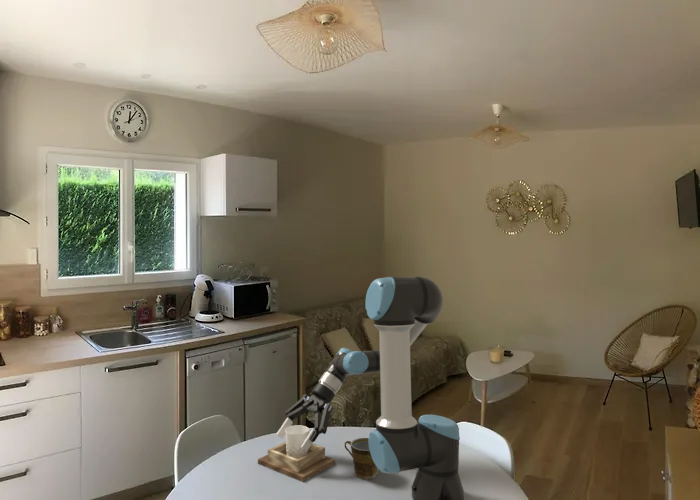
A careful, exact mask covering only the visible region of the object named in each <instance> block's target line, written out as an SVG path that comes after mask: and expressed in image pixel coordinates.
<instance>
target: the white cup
mask: <svg viewBox="0 0 700 500" xmlns="http://www.w3.org/2000/svg"><path fill="white" fill-rule="evenodd" d="M309 433H310V428H309V427H307V426H306V425H301V424H299V425H298V424H297V425H296V424H294V425H291V426H289V427H287V428H286V429H285V435H284V436H285V442H286V452H287V455H288V456H291V457H293V458H296V459H299V458H301V457H303V456H305V455H307V452H308V451H307V452H306V451H305V450H304V449H303V448H302V447H301V446H302V444H303V442H304V441H305V439H306V438H307V436H308V435H309Z"/></svg>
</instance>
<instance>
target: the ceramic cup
mask: <svg viewBox="0 0 700 500" xmlns="http://www.w3.org/2000/svg"><path fill="white" fill-rule="evenodd" d="M368 438H369V437H359V438H356V439H353V440H352V441H350V440H347V441H345V443H344V448H345V450H346V451H347V452H348V454H349V455H350V456H351V458H352V461H353V467H354V474H355V475H356V477H357V478H358V479H361V480H373V479H374V478H376V477H377V474H378V470H379V469H378V468H377V467H376V465H375V463H374V461H373V459H372V457H371V454H370V450H369V443H368ZM347 444H348V445H350V449H351V450H349V448H348V447H347Z"/></svg>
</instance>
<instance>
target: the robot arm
mask: <svg viewBox="0 0 700 500" xmlns="http://www.w3.org/2000/svg"><path fill="white" fill-rule="evenodd" d="M366 291H367V292H366V295H365V301H364V302H365V304H364V305H365V311H366V314H367V317H368V318H370V320H372V321H373V326H374V327H375V328H376V329H377V330H378V332H379V333H378V334H379V337H378V338H379V349H375V350H365V351H364V350H362V351H360V350H355V351H353V350H351V349H349V348H346V347H341V348H339V350H338V352H337V353H336V354H335V355H334V357H333V359H332V361H331V362H330V364H329V365H328V367H327V368H326V370H325V371H324V373H323V374H322V375H321V377H320V378H319V380H318V383H316V384H315V386H314V387H313V389H312V390H311V395H310V396H309V395H308V394H307V393H304V394H303V395H302V397H301V398H300V399H298V401H296V402H295V403H294V404H293V405H291V406H290V407H289V408H288V409H287V410H285V412H284V415H285V416H286V417H285V419H284V421H282V424H281V427H279V429H278V431H277V432H276V435H277V436H278V438H280V439H282V440H283V438H284V437H285V436H286V435H285V429H286V428H287V427H289V426H293V423H294V420H296V419H297V418H299V417H300V416H302V415H304V414H306V413H313V414H314V427H313V428H311V430H310V431H309V435H308V436H307V438H306V439H305V441H304V442H303V444H302V446H301V447H302V448H303V449H304V450H305V451H306V452H307V451H308V449H309V448H310V446H311V444H312V443H313V444H314V443H315V441H316V440H317V438H318V437H319V435H321V434H323V435H325V434H327V431H328V426H329V421H330V417H331V413H332V411H333V410H334V407H333V406H332V404H331V402H332V401H333V399H334V398H335V394H337V393H338V391H339V390H340V389H341V387H342V385H343V384H344V382H345V381H346V380H347V378H348V376H355V375H364V374H372V373H373V374H374V373H380V374H379V375H380V378H379V379H380V383H379V384H380V412H381V413H380V414H381V415H380V416H379V417H378V418H377V419H376V420H375V429H373V430H372V431H370V432H369V436H368V437H367V438H368V443H369V450H370V454H371V457H372V459H373V461H374V463H375V465H376V467H377V468H378V470H379V472H381V473H384V474H392V473H393V474H394V473H395V474H396V473H397V474H399V473H400V472H406V471H410V470H415V469H416V470H417V472H416V473H415V477H414V479H413V482H412V486H411V498H412V500H465V491H464V487H463V483H462V480H461V478H460V474H459V466H460V465H459V462H460V459H459V457H460V453H459V452H460V428H459V424H457V422H455V420H453V419H451V418H448V417H446V416H441V415H437V414H423V415H421V416H420V417H419V418H418V420H416V418H415V417H413V414H412V379H411V377H412V375H411V371H412V370H411V346H412V345H413V343H414V342H416V340H417V338H418V337H419V336H420V334H422V333H423V331H424V330H425V328H426V327H427V326H428V325H430V324H432V323H434V322H435V321H436V319H437V318H438V317H439V315H440V314H441V312H442V310H443V306H444V297H443V293H442V291H441V289H440V287H439V286H438V284H437V283H435V281H434V280H432V279H430V278H427V277H425V276H401V277H400V276H398V277H397V276H395V277H394V276H393V277H392V276H388V277H380V278H379V277H378V278H376V279H374V280H373V281H372V282H371V283H370V285H369V287H368V289H367V290H366Z"/></svg>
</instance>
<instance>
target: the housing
mask: <svg viewBox="0 0 700 500" xmlns="http://www.w3.org/2000/svg"><path fill="white" fill-rule="evenodd" d="M257 464H258V465H260V466H263V467H265V468H268V469H270V470H273V471H276V472H278V473H280V474H282V475H285V476H287V477H289V478H292V479H295V480H297V481H299V482H302V483H304V481H306V480H309V479H311V478H312V477H314V476H317V474H319V473H321V472H322V471H325V470H326V469H328V468H330V467H332V466H334V465H335V464H336V459H335V458H333V457H330V456H327V455H326V446H325V447H324V446H322V445H318V444H316V443H314V442H313V443H312V444H311V446H310V448H309V449H308V452H307V455H305V456H303V457H301V458H299V459H296V458H293V457H291V456H288V455H287V452H286V441H285V442H283V443H280V444H278V445H276V446H273V447H271V448H269V449H268V450H267V454H266V455H264V456H262V457H259V458H257Z"/></svg>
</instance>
